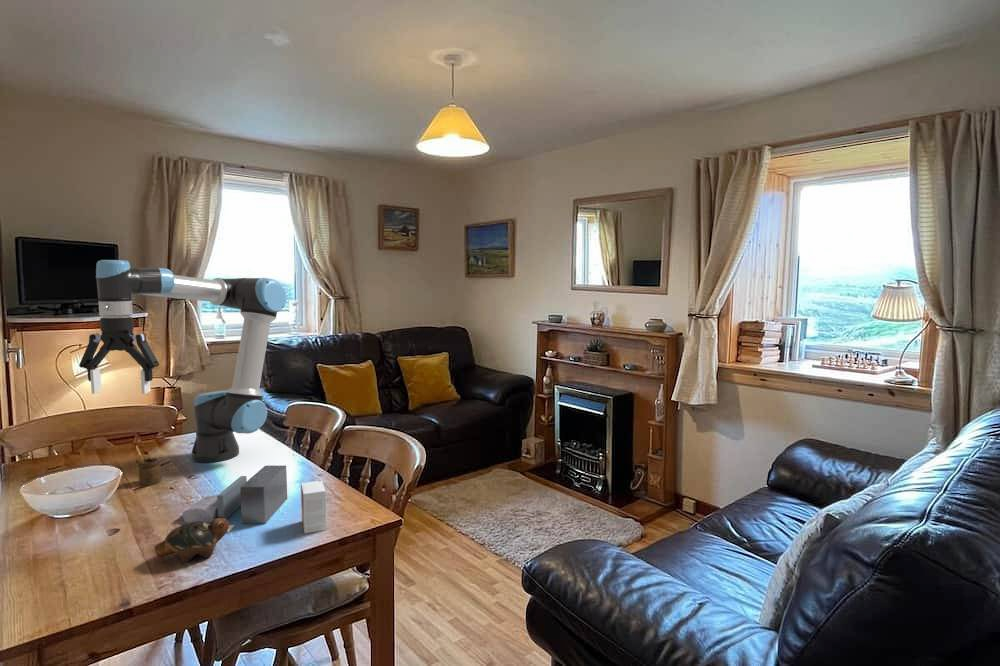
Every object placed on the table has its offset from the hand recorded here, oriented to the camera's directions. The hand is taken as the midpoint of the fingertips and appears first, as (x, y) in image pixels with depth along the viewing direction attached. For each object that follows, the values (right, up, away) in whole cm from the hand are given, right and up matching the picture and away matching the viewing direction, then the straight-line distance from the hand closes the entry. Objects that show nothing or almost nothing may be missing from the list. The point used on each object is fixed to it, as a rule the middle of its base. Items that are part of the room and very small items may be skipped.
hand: (121, 392), depth 152 cm
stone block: (+26, -33, -3) cm, 42 cm away
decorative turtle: (+35, -35, -26) cm, 55 cm away
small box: (+57, -34, -10) cm, 67 cm away
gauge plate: (+32, -32, -4) cm, 46 cm away
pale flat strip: (+32, -34, -13) cm, 48 cm away
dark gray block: (+41, -32, -2) cm, 52 cm away
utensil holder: (-4, -30, +18) cm, 35 cm away
